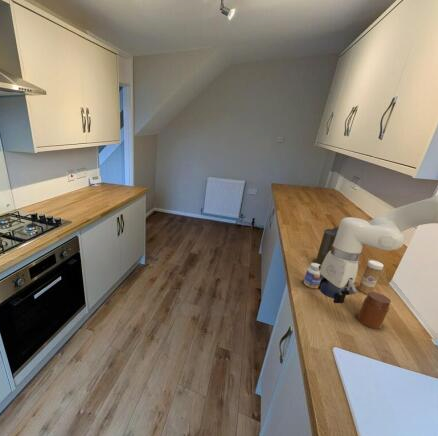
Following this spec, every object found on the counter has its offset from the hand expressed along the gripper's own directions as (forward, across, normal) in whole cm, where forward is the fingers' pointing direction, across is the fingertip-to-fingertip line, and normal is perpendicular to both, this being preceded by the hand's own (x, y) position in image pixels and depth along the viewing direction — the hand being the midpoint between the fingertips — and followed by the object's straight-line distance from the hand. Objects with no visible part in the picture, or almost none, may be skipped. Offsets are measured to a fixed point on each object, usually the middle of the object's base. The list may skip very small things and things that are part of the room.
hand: (330, 295), depth 87 cm
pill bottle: (+6, -14, +4) cm, 15 cm away
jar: (+5, +8, +10) cm, 13 cm away
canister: (+6, -29, +23) cm, 38 cm away
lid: (-3, 0, 0) cm, 3 cm away
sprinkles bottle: (+5, -9, +24) cm, 26 cm away
